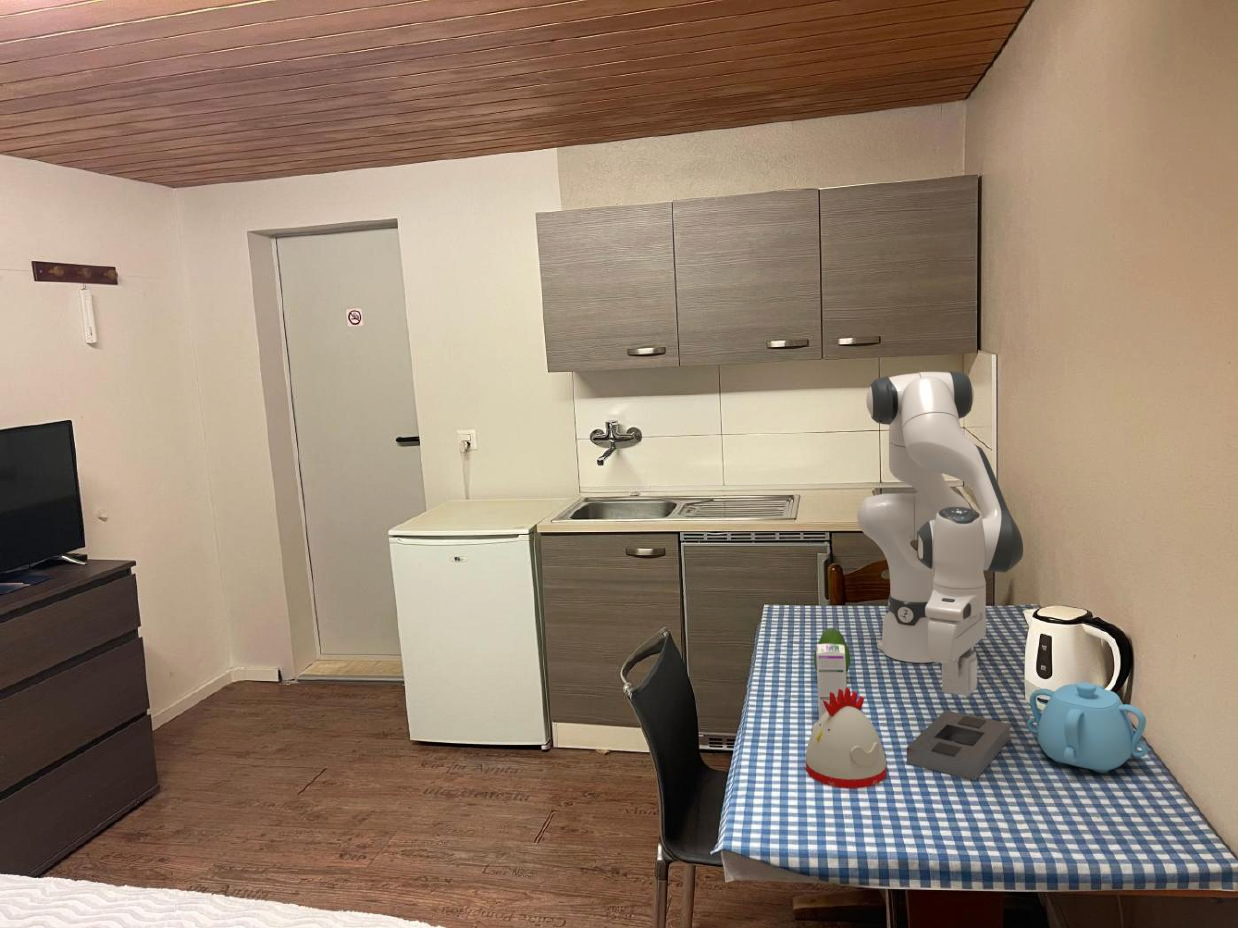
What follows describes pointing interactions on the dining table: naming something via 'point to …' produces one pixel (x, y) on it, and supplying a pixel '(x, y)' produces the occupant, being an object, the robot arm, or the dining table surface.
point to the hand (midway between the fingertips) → (959, 673)
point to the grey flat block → (954, 756)
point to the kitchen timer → (845, 745)
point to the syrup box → (830, 672)
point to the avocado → (834, 638)
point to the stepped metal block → (962, 675)
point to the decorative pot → (1087, 727)
